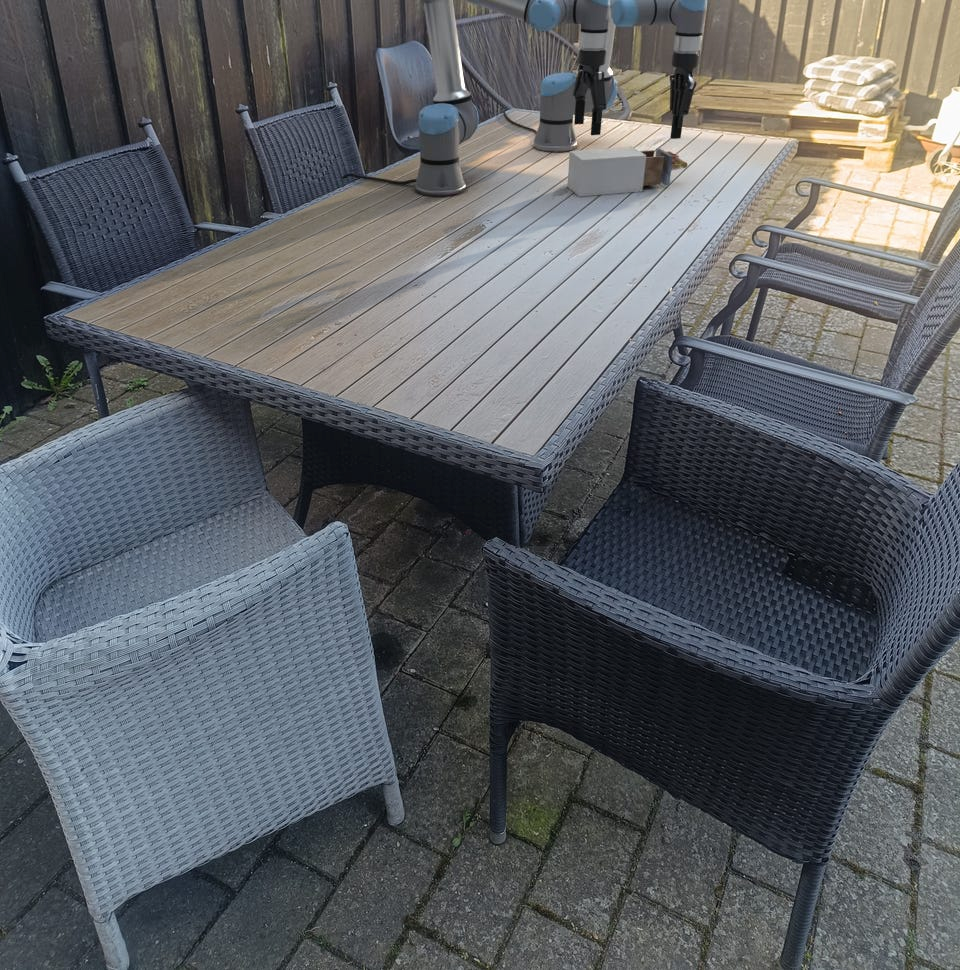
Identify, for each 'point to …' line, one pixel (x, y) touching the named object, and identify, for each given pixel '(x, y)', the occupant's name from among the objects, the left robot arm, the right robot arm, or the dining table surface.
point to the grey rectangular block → (606, 171)
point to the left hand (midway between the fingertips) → (586, 129)
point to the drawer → (659, 167)
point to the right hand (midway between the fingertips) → (675, 138)
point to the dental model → (674, 156)
